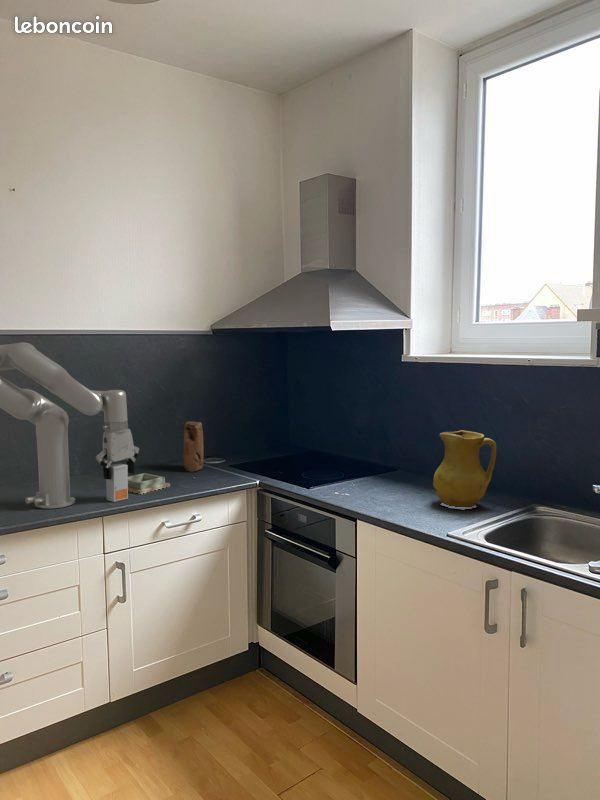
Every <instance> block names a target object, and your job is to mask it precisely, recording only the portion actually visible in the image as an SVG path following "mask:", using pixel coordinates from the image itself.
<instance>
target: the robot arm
mask: <svg viewBox="0 0 600 800" xmlns="http://www.w3.org/2000/svg"><path fill="white" fill-rule="evenodd" d="M15 369H16V370H18V371H19V372H21V373H22V374H24V375H26V376H27V377H28V378H30V379H32V380H33V381H35V382H36V383H37V384H39V385H41V386H42V387H43V388H45V389H47V390H48V391H49V392H51V393H52V394H54V395H55V396H57V397H58V398H60V399H61V400H62V401H63V402H65V403H66V404H68V405H69V406H71V407H73V408H74V409H76V410H77V411H79V412H80V413H82V414H83V415H87V416H95V415H98V414H99V413H100V412H102V411H103V417H104V418H103V419H104V421H103V422H104V424H103V425H102V429H103V430H104V432H103V435H102V450H101V451H100V452H99V453H98V454H97V455H95V460H96V461H97V464H99V465H100V466H101V468H102V471H103V472H102V473H103V474H102V475H103V479H105V480H106V479H108V480H110V479H111V468H109V466H110V465H112V463H113V462H119V461H124V460H127V461H126V465H128V474H135V472H136V471H135V463H136V459H137V457H138V456H139V452H140V448H139V447H138V446H137V445H134V439H133V434H132V431H131V429H130V428H129V424H128V423H129V422H128V407H127V406H128V405H127V394H126V391H125V390H122V389H109V390H93V389H92V390H91V389H89V388H87V387H86V386H85V385H83V384H82V383H80V382H79V381H77V380H76V379H75V378H73V377H72V376H71V375H70V374H69V372H68V371H67V370H66V369H65V368H63V367H62V366H61V365H60V364H58V363H57V362H55V361H54V360H52V359H50V357H47V356H46V355H45V354H43V353H42V352H41V351H39V350H38V349H36V347H35V346H34V345H33V344H31V343H29V342H21V341H20V342H16V343H8V344H0V371H8V370H15ZM0 409H2V410H3V411H5V412H7V414H9V415H11V416H12V417H13V418H15V419H17V420H21V421H23V420H24V421H25V420H27V421H28V422H30V423H31V424H33V425H34V426H35V434H36V436H35V437H36V448H37V463H38V464H37V465H38V469H37V470H38V491H36V492H35V495H34V496H30V497H29V496H28V497H25V500H24V501H25V504H27V505H29V504H32V503H33V504H34V506H35V507H36V508H40V509H44V510H45V509H59V508H60V509H61V508H65V507H69V506H72V505H73V504H75V503H76V498H75V497H73V496H71V487H70V485H71V483H70V459H69V458H70V457H69V456H70V455H69V451H70V450H69V433H68V432H69V427H68V426H69V421H70V420H69V419H70V417H69V414H68V413H67V412H66V410H64V408H62V407H61V406H59V405H57V403H54V402H52V401H51V400H49V399H48V398H47V397H45V396H43V395H42V394H40V393H39V392H37V391H36V390H35V391H34V390H33V389H30V388H21V387H19V386H18V385H17V384H15V383H12V382H11V381H10V380H9V379H7V378H5V377H3V376H2V375H0Z"/></svg>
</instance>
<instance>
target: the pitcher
mask: <svg viewBox="0 0 600 800" xmlns="http://www.w3.org/2000/svg"><path fill="white" fill-rule="evenodd" d="M439 437H440V438H441V440H442V441H443V444H444V457H443V459H442V462H441V463H440V465H439V466H438V467H437V469H436V471H435V472H434V474H433V482H432V486H433V487H434V489H435V493H434V494H435V495H437V497H438V498H439V500H440V502H442V503H444V504H446V505H449V506H455V507H472V506H474V505H475V504H477V503H478V502H480V500H481V499H482V498H483V497H484V496H486V495H485V494H486V491H487V488H488V486H489V483H490V482H491V481H492V476H493V470H494V469H495V463H496V457H497V443H496V441H494V440H493V439H491V438H488V437H485V435H484V434H483V433H479V432H475V431H469V430H463V429H462V430H461V429H459V430H458V431H444V432H440V433H439ZM485 445H488V446H489V447H490V449H491V453H490V458H489V463H488V466H487V470H486V471H485V470H484V468H483V466H482V464H481V461H480V449H481V448H482V447H484V446H485Z"/></svg>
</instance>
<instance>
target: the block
mask: <svg viewBox="0 0 600 800" xmlns="http://www.w3.org/2000/svg"><path fill="white" fill-rule="evenodd" d="M183 427H184V428H183V429H184V430H183V466H184V469H185V471H186V472H192V473H193V472H198V471H200V470H202V469H203V467H204V431H203V424H202V422H201V421H186V422H185V423H184V426H183Z"/></svg>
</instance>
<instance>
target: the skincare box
mask: <svg viewBox="0 0 600 800" xmlns="http://www.w3.org/2000/svg"><path fill="white" fill-rule="evenodd" d="M109 468H111V479H110V480H108V479H105V483H106V500H107V501H108V502H113V503H115V502H119V501H123V500H129V492H128V477H129V473H128V465H127V463H126V464H125V463H115V464H114V463H113V464H111V465H110V466H109Z"/></svg>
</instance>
